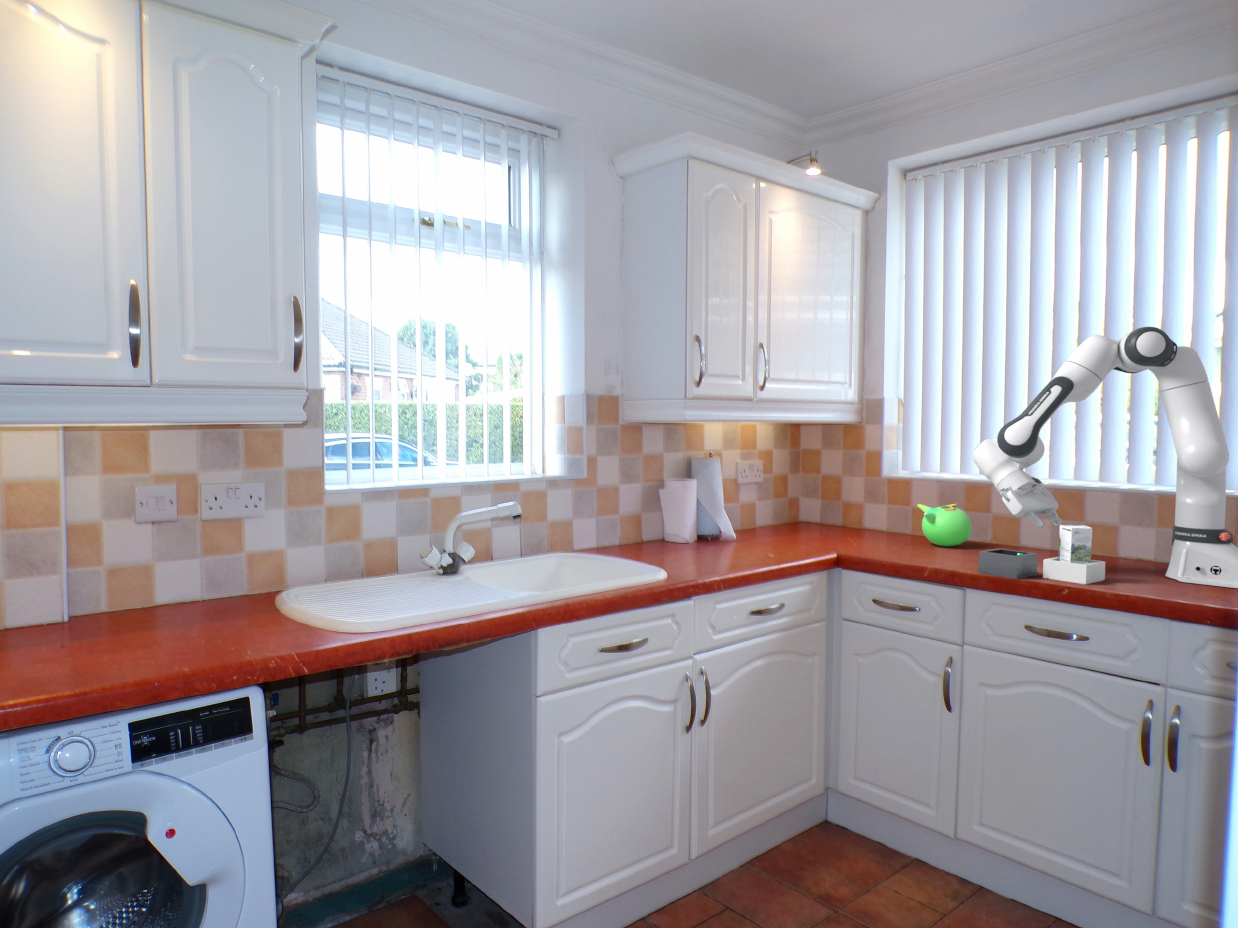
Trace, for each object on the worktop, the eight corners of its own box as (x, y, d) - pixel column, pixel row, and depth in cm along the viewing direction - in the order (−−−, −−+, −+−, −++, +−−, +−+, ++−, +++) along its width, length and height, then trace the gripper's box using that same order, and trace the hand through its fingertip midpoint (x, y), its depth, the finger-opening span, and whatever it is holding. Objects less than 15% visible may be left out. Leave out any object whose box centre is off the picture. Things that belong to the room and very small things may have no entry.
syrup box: (1077, 576, 221) (1079, 524, 221) (1090, 581, 215) (1092, 526, 215) (1056, 576, 221) (1058, 524, 220) (1069, 581, 215) (1071, 526, 215)
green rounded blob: (977, 550, 268) (978, 506, 268) (924, 548, 271) (925, 505, 270) (963, 543, 286) (964, 501, 285) (913, 541, 289) (914, 500, 288)
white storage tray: (1104, 580, 217) (1105, 561, 217) (1085, 584, 211) (1086, 565, 210) (1062, 573, 226) (1063, 556, 226) (1042, 577, 219) (1043, 559, 219)
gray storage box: (1037, 574, 224) (1038, 551, 223) (1017, 578, 217) (1017, 554, 217) (998, 569, 232) (999, 546, 232) (978, 572, 226) (978, 549, 226)
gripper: (1005, 481, 222) (1040, 520, 215) (1042, 479, 234) (1076, 515, 227) (989, 496, 226) (1023, 535, 219) (1026, 493, 238) (1059, 529, 231)
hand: (1050, 525), depth 223 cm, fingers open, 8 cm apart
